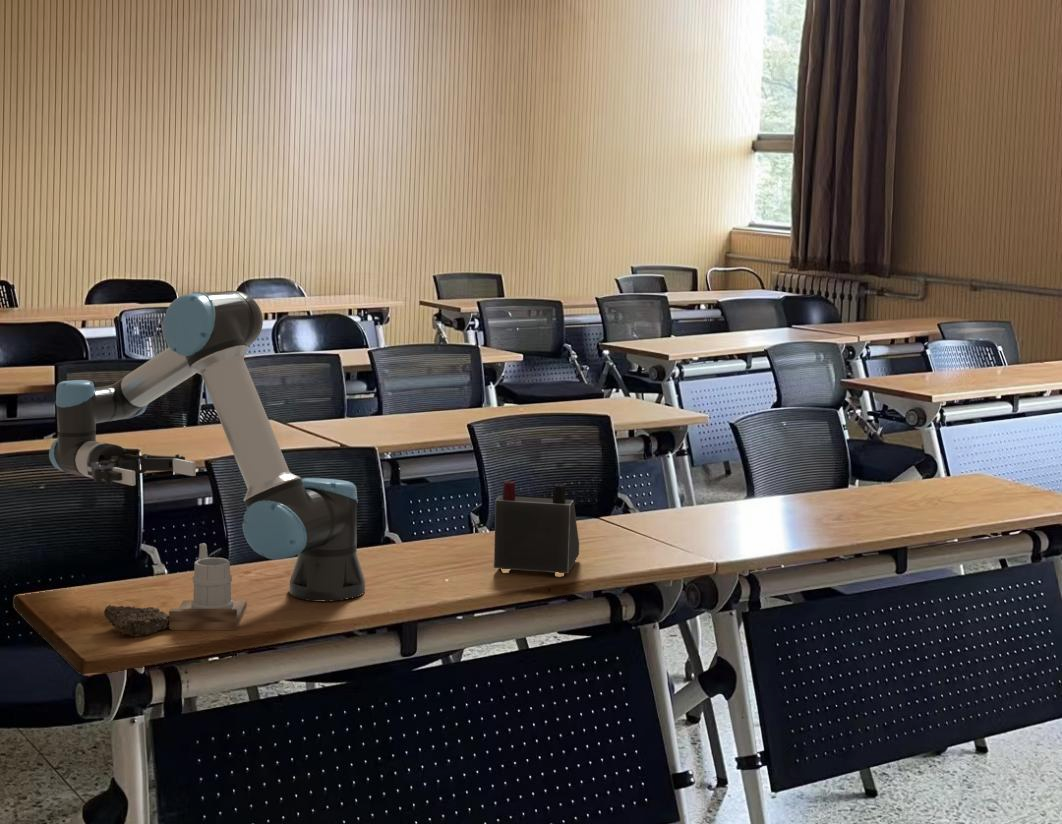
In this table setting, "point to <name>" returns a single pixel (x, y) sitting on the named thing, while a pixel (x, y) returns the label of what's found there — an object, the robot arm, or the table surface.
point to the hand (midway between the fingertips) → (164, 473)
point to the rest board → (206, 617)
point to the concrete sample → (136, 620)
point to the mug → (211, 582)
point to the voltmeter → (535, 531)
